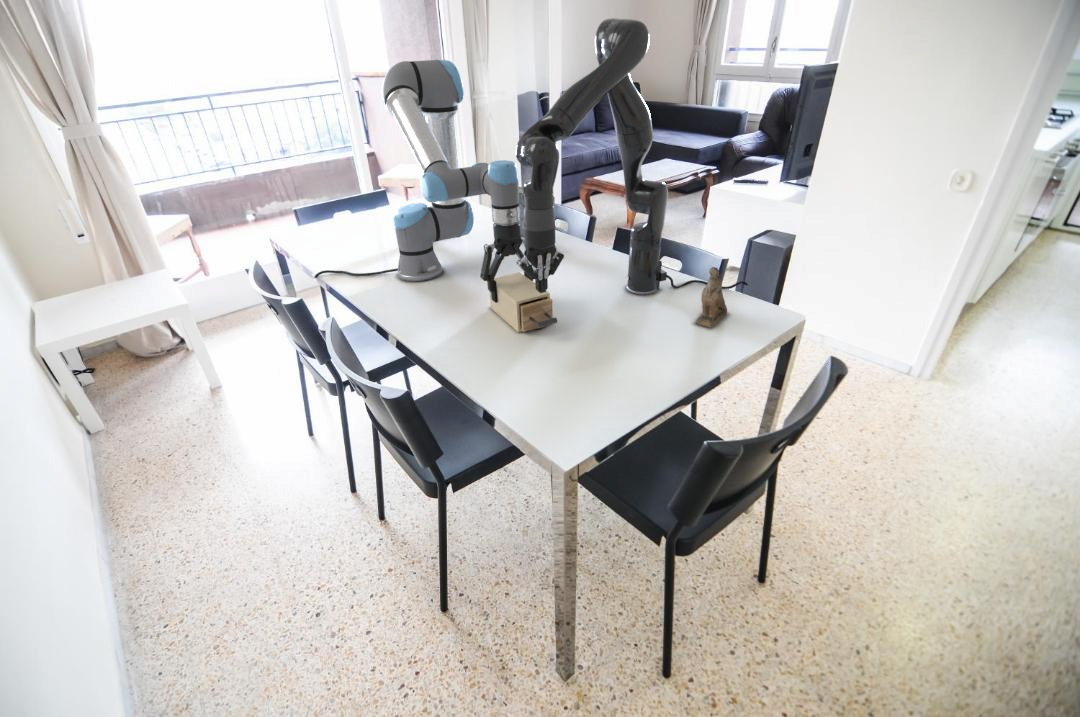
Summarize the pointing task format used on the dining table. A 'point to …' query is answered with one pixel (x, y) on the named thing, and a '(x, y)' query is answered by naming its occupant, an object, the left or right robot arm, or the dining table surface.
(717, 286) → the brown carved statuette
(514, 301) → the cabinet
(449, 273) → the dining table surface
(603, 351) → the dining table surface
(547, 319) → the drawer
